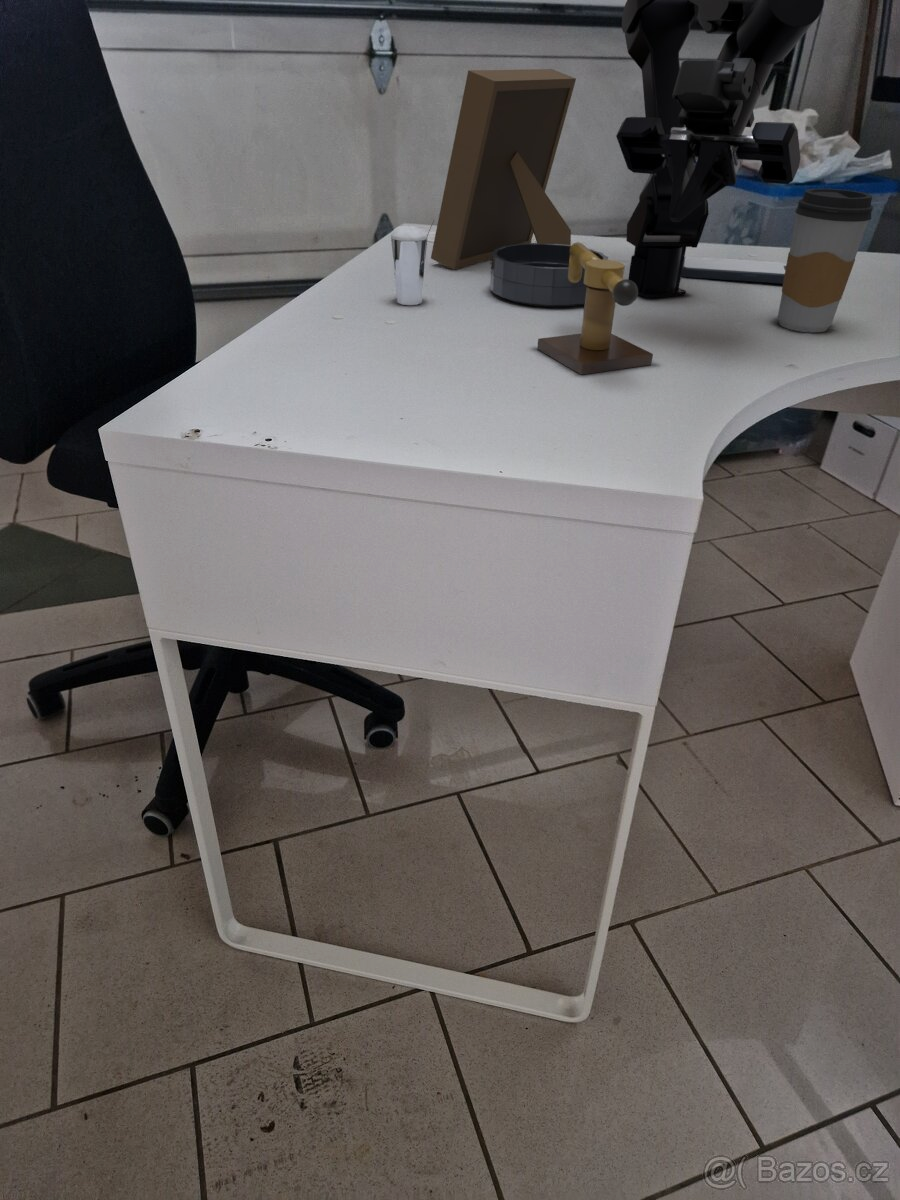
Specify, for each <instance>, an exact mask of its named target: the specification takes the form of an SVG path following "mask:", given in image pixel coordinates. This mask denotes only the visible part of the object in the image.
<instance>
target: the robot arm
mask: <svg viewBox="0 0 900 1200" xmlns="http://www.w3.org/2000/svg"><path fill="white" fill-rule="evenodd" d="M823 7H824V0H626V2H625V4H624V7H623V10H622V16H621V30H622V32H623V33H624V37H625V43H626V44H625V45H626V49H627V54H628V55H629V56H630V58H631V59H632V60H633V62H634V63H635V64H636V65H637V66H638V67H639V68H640V70H641V78H642V79H641V80H642V90H643V91H642V92H643V104H644V114H645V115H644V116H629V117H625V118H624V120H623V121H622V122H621V125H620V127H619V128H618V131H617V132H616V135H615V137H616V140H617V142H618V146H619V148H620V151H621V154H622V156H623V159H624V162H625V165H626V167H627V170H629V171H630V172H632V173H634V174H648V177H647V180H646V182H645V184H644V185H643V188H642V190H641V192H640V194H639V196H638V198H639V199H638V203H637V205H636V206H635V209H634V211H633V213H631V216H630V218H629V220H628V222H627V224H626V242H628V243H629V244H630V245H632V246H634V251H633V255H632V256H631V257H630V264H629V270H628V271H629V272H628V277H627V279H628V280H631V281H633V282H634V283H635V284H636V286H637V288H638V295H640V296H643V297H645V298H648V299H655V298H657V299H658V298H665V297H674V296H683V295H686V294H687V290H686V289H683V288H681V287H680V285H681V279H682V276H681V274H682V268H683V263H684V257H686V252H687V251H686V250H687V248H691V249H692V248H694V249H695V248H698V246H699V242H700V241H701V237H702V234H703V232H704V229H705V226H706V223H707V221H708V220H707V219H708V217H709V201H708V199H710V198H711V197H712V196H714V195H716V193H718V192H720V191H722V190H723V189H725V188H726V187H734V186H735V185H736V183H737V181H738V177H737V173H738V171H739V168H740V167H742V166H743V164H744V161H758V162H761V164H760V166H759V169H758V176H759V178H760V180H761V181H762V182H763V183H765V184H777V185H778V184H780V185H789V184H791V183H792V182H793V181H794V179H795V177H796V174H797V173H798V170H799V167H800V163H801V159H802V158H801V149H800V139H799V132H798V131H799V130H798V128H797V126H796V124H795V123H794V122H781V121H780V122H778V121H757V122H755V113H754V109H755V107H756V104H757V102H758V100H759V98H760V96H761V93H762V92H763V89H764V86H765V85H766V82H767V80H768V79H769V76H770V74H771V72H772V69H773V67H774V65H775V64H778V63H779V62H782V61H783V60H784V59H786V57H787V56H788V55H789V53H790V52H791V51H792V50H793V48H795V46H796V45H797V43H799V41H801V39H802V38H803V37H804V35H805V34H806V33H807V32H808V30H809V29H810V28H811V26H812V25H813V24H814V23H815V22H816V21H817V19H818V18H819V16H820V15H821V13H822V10H823ZM696 19H697V22H698V23H699V24H700V26H701V28H702V29H703V30H704V32H705V33H706V34H707V35H728V36H727V38H726V39H725V41H724V43H723V46H722V48H721V50H720V52H719V54H718V57H716V60H715V59H706V60H705V59H703V60H702V59H696V60H695V59H693V60H691V59H686V60H683V61H682V62H681V63H680V51H681V49H682V48H683V46H684V44H685V42H686V40H687V37H688V36H689V34H690V31H691V27H692V26H693V23H694V22H695V20H696ZM754 122H755V123H754ZM753 123H754V126H753ZM752 126H753V128H752ZM746 128H752V130H751V135H745V134H743V133H744V131H745V129H746Z"/></svg>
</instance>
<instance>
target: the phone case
mask: <svg viewBox="0 0 900 1200" xmlns="http://www.w3.org/2000/svg"><path fill="white" fill-rule="evenodd" d="M786 265H787V262H781V261H766V260H751V259H734V258H733V259H732V258H716V257H704V256H703V257H701V256H700V257H699V256H685V257H684V263H683V268H682V274H681V277H683V278H684V277H685V278H695V279H708V280H709V279H710V280H722V281H723V280H724V281H739V282H753V283H765V284H777V285H783V281H784V276H785V270H786Z"/></svg>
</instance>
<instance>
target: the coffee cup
mask: <svg viewBox="0 0 900 1200" xmlns="http://www.w3.org/2000/svg"><path fill="white" fill-rule="evenodd" d="M872 200H873V195H872V194H870V193H867V192H861V191H857V190H856V191H855V190H849V189H841V188H840V189H839V188H808V189H806V190H804V193H803V196H802V199H799V200H798V203H797V207H796V208H795V211H794V212H795V219H794V225H793V231H792V236H791V242H790V248H789V252H788V254H787V260H786V263H787V265H786V270H785V276H784V281H783V284H782V287H781V297H780V298H781V299H780V302H779V308H778V313H777V319H778V324H779V325H780V326H781V327H783V328H785V329H788V330H791V331H795V332H801V333H812V334H813V333H814V334H815V333H823V332H826V331H828V329H829V327H830V326H832V324H833V321H834V319H835V316H836V313H837V310H838V308H839V304H840V302H841V301H842V298H843V295H844V292H845V289H846V287H847V284H848V282H849V278H850V276H851V272H852V270H853V268H854V265H855V262H856V257H857V255H858V252H859V249H860V245H861V243H862V240H863V237H864V234H865V231H866V229H867V226H868V223H869V221H871V220H872V212H873V210H874V206H873V205H872V202H873V201H872Z"/></svg>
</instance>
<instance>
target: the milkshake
mask: <svg viewBox="0 0 900 1200" xmlns="http://www.w3.org/2000/svg"><path fill="white" fill-rule="evenodd" d="M434 221H435V220H434V219H433V220H432V223H431V224H430V227H429V229H428V231H427V232H426V230H425V229H423V228H421V227H418V226H415V225H398V226H397V227H395V228H394V229H393V230H392V232H391V233H390V239H391V240H390V241H391V250H392V252H391V253H392V258H393V266H394V267H393V268H394V280H395V281H394V283H395V294H396V295H395V296H396V303H397V304H399V305H402V306H416V305H421V304H422V302H423V289H424V275H425V265H426V264H425V263H426V254H427V246H428V236H429V234H430V231H431V229H432V227H433V224H434Z"/></svg>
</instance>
